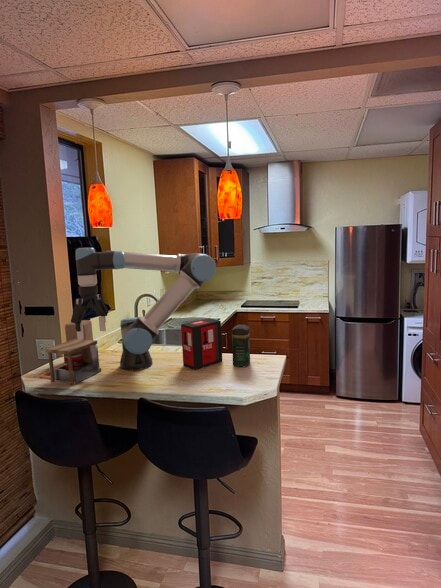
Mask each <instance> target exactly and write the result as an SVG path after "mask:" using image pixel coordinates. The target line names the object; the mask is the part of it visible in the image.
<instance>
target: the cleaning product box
mask: <svg viewBox="0 0 441 588" xmlns="http://www.w3.org/2000/svg"><path fill="white" fill-rule="evenodd" d="M180 331H181V345H182V346H181V348H182V350H181V351H182V362H183V363H182V365H183V367H185V368H187V369H190V370H193V371H197V370H200V369H204V368H207V367H211V366H214V365H216V364H219V363H223V344H222V343H223V342H222V341H223V339H222V321H221V320H218V319H214V318H209V317H207V318H204V319H200V320H195V321H190V322H186V323H181V324H180Z"/></svg>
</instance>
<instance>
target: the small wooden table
mask: <svg viewBox="0 0 441 588" xmlns="http://www.w3.org/2000/svg"><path fill="white" fill-rule="evenodd" d="M92 345H98V340H94V339H93V340H83V339H73V340H70V341H67V342H66V341H65V342H61V343H59V344H56V345H53V346H50V347H47V348H46V349H45V352H46V353H47V355H48V356H47V357H48V363H49V371H50V375H51V379H50V383H52V384H53V383H55V382H56V380H55V376H54V369H55V368H54V357H53V354H55V355H56V354H58V355H64V354H66V355H67V356H68V365H69V375H70V382H69V385H70V386H74V385H75V383H74V375H73V365H72V355H71V354H73V353H76V352H78V351H80V352H82V354H83V362H90V363H92V361H91V350H90V346H92Z"/></svg>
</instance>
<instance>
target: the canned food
mask: <svg viewBox="0 0 441 588" xmlns="http://www.w3.org/2000/svg"><path fill="white" fill-rule="evenodd" d="M71 355H72V365H73V371H76V370H78V369H80V368H82V367H84V363H83V354H82V352H80V351H78V352H76V353H73V354H71ZM63 363H64V364H63V365H65V370H69V365H68V356H67V355H66V354H63Z"/></svg>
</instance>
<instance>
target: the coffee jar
mask: <svg viewBox="0 0 441 588" xmlns="http://www.w3.org/2000/svg"><path fill="white" fill-rule="evenodd" d="M250 334H251V333H250V327H249V325H247V324H237V325H235V326H234V327H233V328H231V340H232V341H231V343H232V344H231V345H232V346H231V348H232V366H233V367H236V368H239V369H240V368H246V367H248V366H250V364H251V343H250V342H251V339H250V336H251V335H250Z"/></svg>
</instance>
